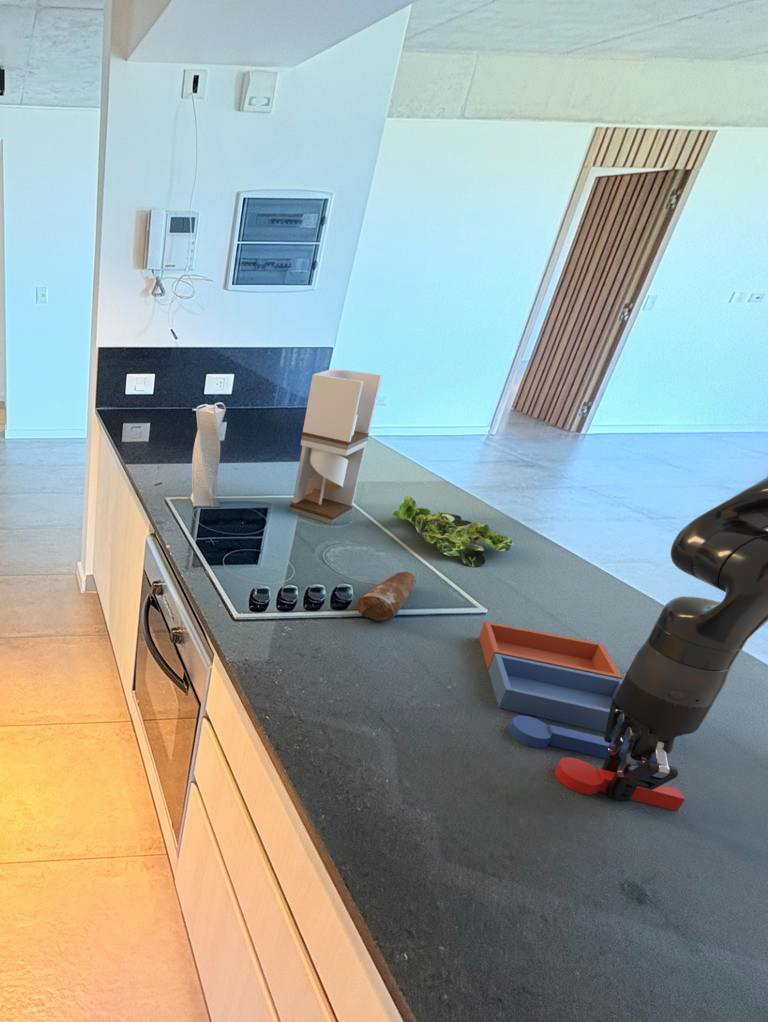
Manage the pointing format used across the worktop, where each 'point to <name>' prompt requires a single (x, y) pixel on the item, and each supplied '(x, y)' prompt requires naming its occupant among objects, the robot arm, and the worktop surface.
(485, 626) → the red bin
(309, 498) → the white tiered shelf stand
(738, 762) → the worktop surface
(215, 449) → the skyscraper
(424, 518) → the lettuce
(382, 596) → the brown rounded cylinder
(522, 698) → the blue bin
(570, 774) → the red spoon
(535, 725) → the blue spoon
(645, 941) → the worktop surface
